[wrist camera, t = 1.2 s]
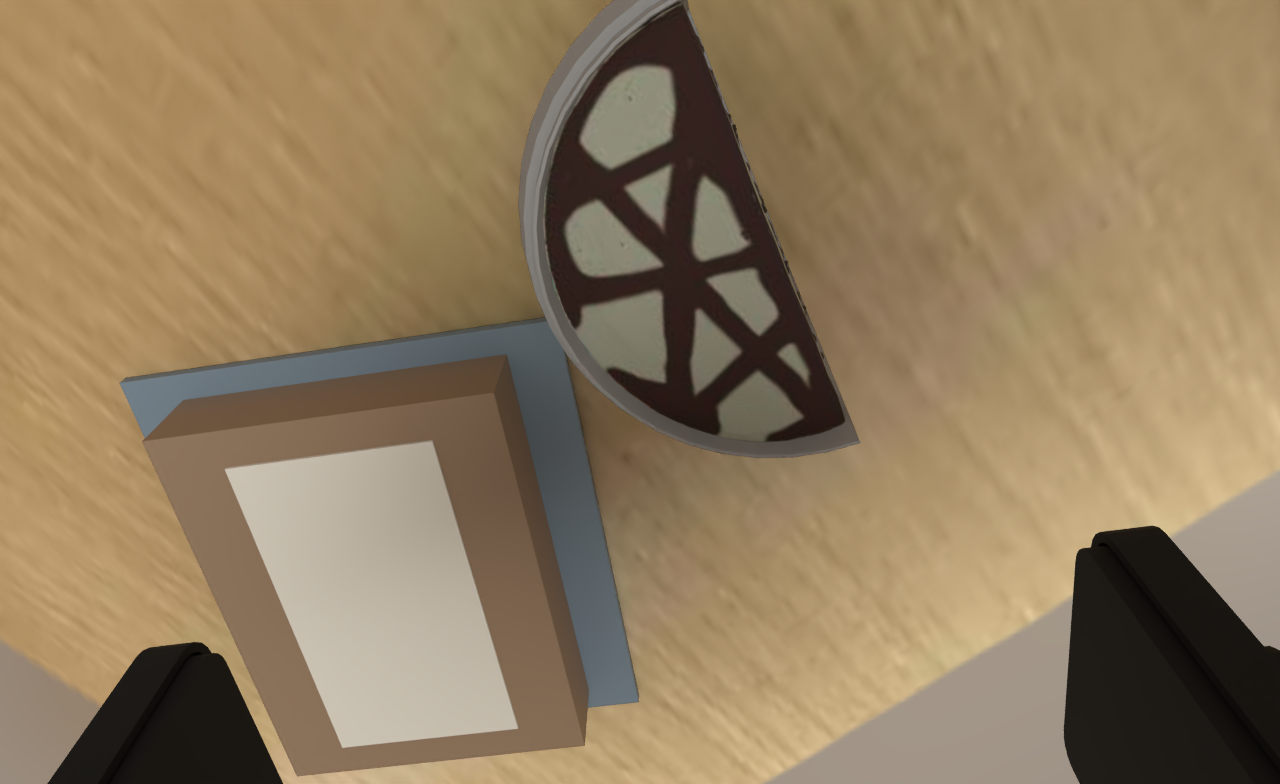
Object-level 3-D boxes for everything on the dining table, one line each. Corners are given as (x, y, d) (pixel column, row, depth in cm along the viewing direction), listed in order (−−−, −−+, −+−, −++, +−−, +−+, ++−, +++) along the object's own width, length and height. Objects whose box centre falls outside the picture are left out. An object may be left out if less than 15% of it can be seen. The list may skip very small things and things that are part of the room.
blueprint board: (558, 315, 32) (547, 357, 29) (638, 695, 40) (638, 760, 37) (125, 378, 33) (70, 424, 30) (287, 733, 41) (257, 799, 38)
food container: (481, 41, 28) (402, 95, 19) (666, -49, 27) (674, -38, 18) (644, 375, 33) (642, 540, 24) (806, 311, 32) (867, 459, 23)
